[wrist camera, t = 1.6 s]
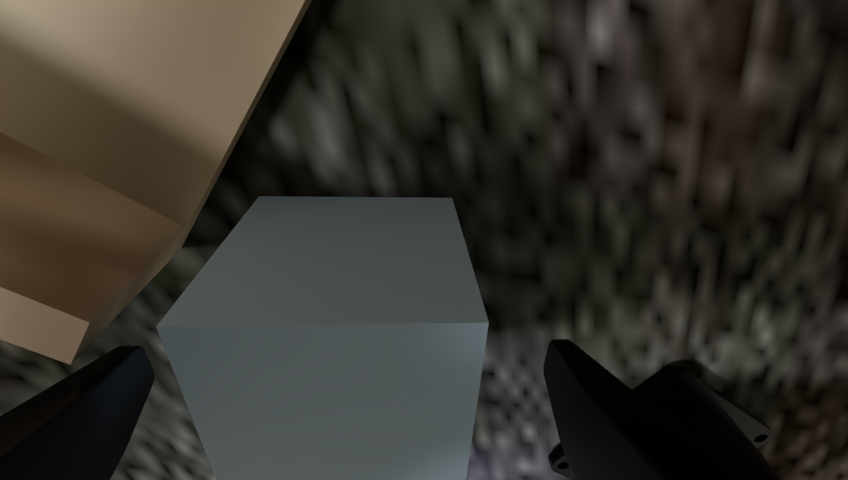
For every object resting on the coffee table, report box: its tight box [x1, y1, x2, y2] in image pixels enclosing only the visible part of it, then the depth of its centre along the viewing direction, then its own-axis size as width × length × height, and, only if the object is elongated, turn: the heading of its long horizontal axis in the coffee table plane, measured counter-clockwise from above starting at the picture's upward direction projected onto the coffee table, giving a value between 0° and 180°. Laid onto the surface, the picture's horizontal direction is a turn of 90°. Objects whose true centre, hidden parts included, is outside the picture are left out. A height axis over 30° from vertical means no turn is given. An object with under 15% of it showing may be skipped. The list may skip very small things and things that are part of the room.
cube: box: [156, 196, 489, 480], centre depth 9 cm, size 5×5×5 cm
